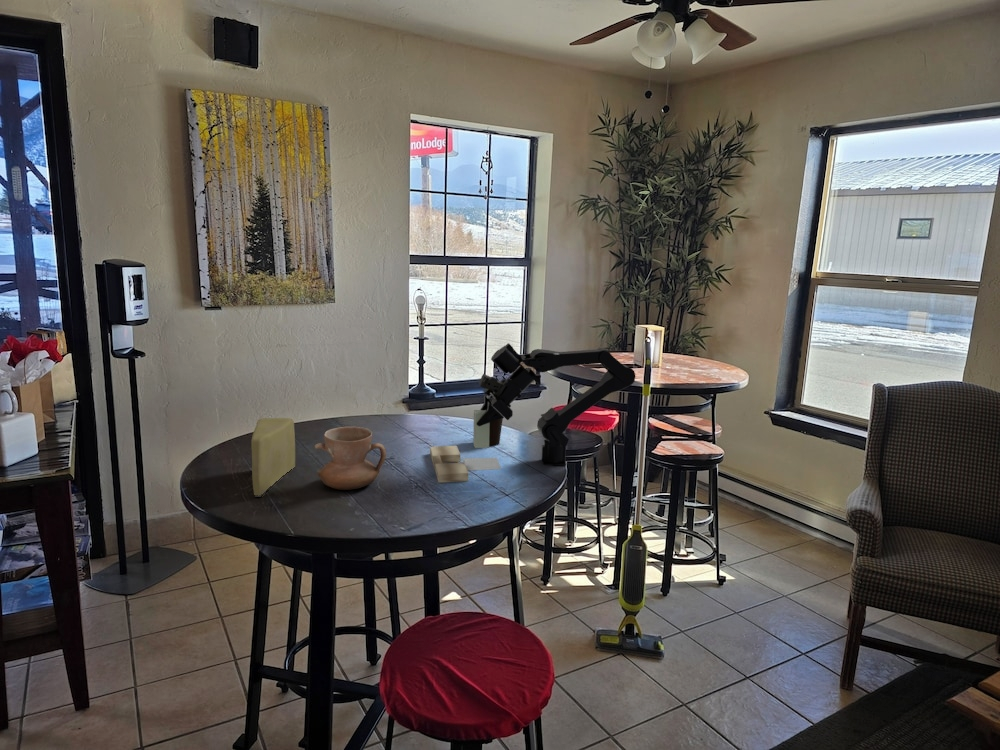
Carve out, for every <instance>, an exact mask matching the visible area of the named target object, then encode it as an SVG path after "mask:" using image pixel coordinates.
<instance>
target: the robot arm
mask: <svg viewBox="0 0 1000 750" xmlns="http://www.w3.org/2000/svg"><path fill="white" fill-rule="evenodd" d="M490 359H491V361H492V362H493V363H494V364H495V365H496V367H497V368H499V370H500V371H502V372H503V373H504V374H505V375H506V374H508V373H509V374H510V376H508V378H507V379H506V378H503V379H501V380H498V378H497V377H494V376H489V375H488V374H484V373H482V375H481V377H480V380H479V381H478V385H479V387H481V388H483V392H484V393H485V394H486V395H485V394H483V405H481V408H480V409H479V410H486V411H485V413H484V414H483V415H482V417H481V418H480V419H479V421H478V422H477V425H478V426H482V425H484V424H487V423H490V422H492V421H495V420H498V419H501V418H502V419H503V420H504V419H506V421H509V420H510V419H511V418H512V417H513V416H514V414H513V409H512V408H511V407H512V405H511V404H512V403H513V402H514V401H515V400H516V399H517V398H518V399H521V397H522V395H521V394H522V393H523V392H524V391H525V390H526V389H527V388H528V387H529V386H530V385H531V384H533V382H535V383H536V384H537V385H539V386H541V384H542V383H541V378H542V375H541V374H540V373H546V372H550V371H553V370H556V369H559V368H562V367H570V366H582V365H583V366H584V365H594V364H595V365H596V364H597V365H598V364H600V365H601V366H602V367H603V368H604V369H605V370H606V372H605V373H604V375H603V376H602V378H601V379H600V381H598V382H597V383H596V384H595V385H592V386H591V387H590V388H589V389H588V390H586V391H584V392H583V393H582V394H580V395H579V396H578V397H576V398H574V399H573V400H572V401H571V402H569V403H568V404H566V405H565V406H564V407H562V408H559V409H558V410H555V409H554V407H551V408H549V409H548V410H547V411H546V412H545V413H542V414H540V418H539V419H538V420H537V424H536V426H537V430H538V432H539V433H540V434H541V435H542V436H543V439H544V440H543V444H542V445H541V461H542V463H543V465H544V466H545V465H547V466H548V465H549V466H566V465H567V461H566V455H567V454H566V453H567V452H566V451H567V445H568V443H569V441H570V439H569V438H568V437H567V436H566V435H565V433H564V432H565V431H566V430H567V429H568V426H570V424H571V423H572V422H573V421H574V420H575V419H577V418H578V417H580V416H581V415H582V414H583V413H585V412H587V411H588V410H589V409H590V408H592V407H594V405H596V404H597V403H599V402H600V401H602V400H603V399H604V398H606V397H607V396H609V395H610V394H612V393H616V392H619V391H622V390H625V389H626V388H628V387H630V386H632V385H634V382H635V381H636V380H635V379H636V373H635V370H634V369H632V368H631V367H629V366H627V365H626V364H624V363H622V362H621V361H619V360H618V359H617V358H616V357H614V356H613V354H611V352H610V351H608V350H606V349H605V348H602V347H599V348H596V349H585V350H584V349H582V350H570V351H555V350H549V349H541V348H536V349H533V350H531V352H530V353H522V354H519V353H518V352H517V351H516V350H515V349H514V347H513V346H512V345H511V344H510V343H508V342H507V344H506V345H504V346H502V347H500V348H499V349H497V350H496V351H495V352H494V353H493V355H492V356H491V358H490ZM521 363H522V364H521ZM523 364H524V365H525V366H526V367H524V366H523ZM532 368H533V370H532ZM534 370H535V371H534ZM536 372H537V373H536Z"/></svg>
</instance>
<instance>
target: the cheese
mask: <svg viewBox="0 0 1000 750" xmlns="http://www.w3.org/2000/svg"><path fill="white" fill-rule="evenodd" d="M295 434H296V433H295V422H294V419H293V418H290V417H276V418H275V417H274V418H272V417H267V418H263V417H262V418H259V419H258V420H257V423H256V425H255V428H254V430H253V433H252V437H251V440H250V441H251V445H250V446H251V474H252V475H251V477H252V489H253V495H258V496H259V495H261V494H263V493H264V492H265V491H266V490H267V489H268V488H269V487H270V486H272V485H273V484H274V483H275V482H276V481H278V480H279V479H280V478H281V477H282V476H283V475H285V474H286V473H287V472H289V471H290V470H291V469H292V470H294V469H295V468H294V467H296V438H295V437H296V436H295ZM293 468H294V469H293ZM292 470H291V471H292ZM291 471H290V472H291ZM290 472H289V473H290ZM287 474H288V473H287ZM287 474H286V475H287ZM286 475H285V476H286ZM282 478H283V477H282ZM282 478H281V479H282ZM281 479H280V480H281ZM280 480H279V481H280ZM279 481H278V482H279Z"/></svg>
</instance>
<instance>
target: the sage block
mask: <svg viewBox="0 0 1000 750" xmlns="http://www.w3.org/2000/svg"><path fill="white" fill-rule="evenodd" d="M485 411H486V410H480V409H478V410H477V409H475V410H473V447H474V449H485V448H486V449H489V448H490V446H489V424H490V423H487V424H484V425H482V426H478V425H477V422H478V421H479V419H480V418H481V417H482V415H483V414H484V413H485Z"/></svg>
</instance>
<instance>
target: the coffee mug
mask: <svg viewBox="0 0 1000 750" xmlns="http://www.w3.org/2000/svg"><path fill="white" fill-rule="evenodd" d="M503 420H504V418H503V419H502V418H501V419H498V420H495V421H492V422H490V424H489V447H495V446H498V445H500V442H501V441H500V440H501V434H502V429H503V428H502V427H503Z"/></svg>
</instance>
